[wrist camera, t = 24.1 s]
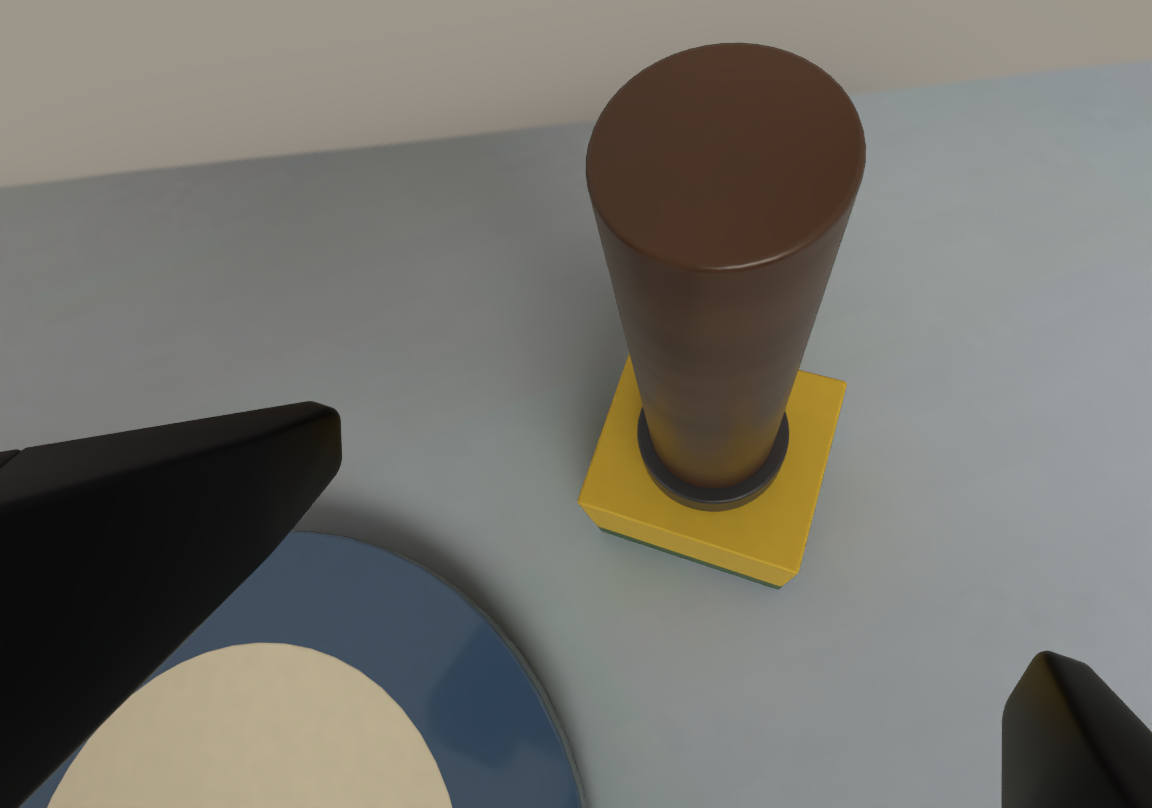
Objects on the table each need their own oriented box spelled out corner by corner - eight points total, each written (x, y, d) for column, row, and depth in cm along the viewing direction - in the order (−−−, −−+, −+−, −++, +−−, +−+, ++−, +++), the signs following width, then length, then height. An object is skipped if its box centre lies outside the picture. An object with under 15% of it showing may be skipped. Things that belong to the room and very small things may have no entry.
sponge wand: (779, 590, 18) (961, 443, 5) (600, 530, 20) (395, 295, 7) (820, 432, 20) (1053, -5, 7) (649, 386, 21) (556, -54, 8)
